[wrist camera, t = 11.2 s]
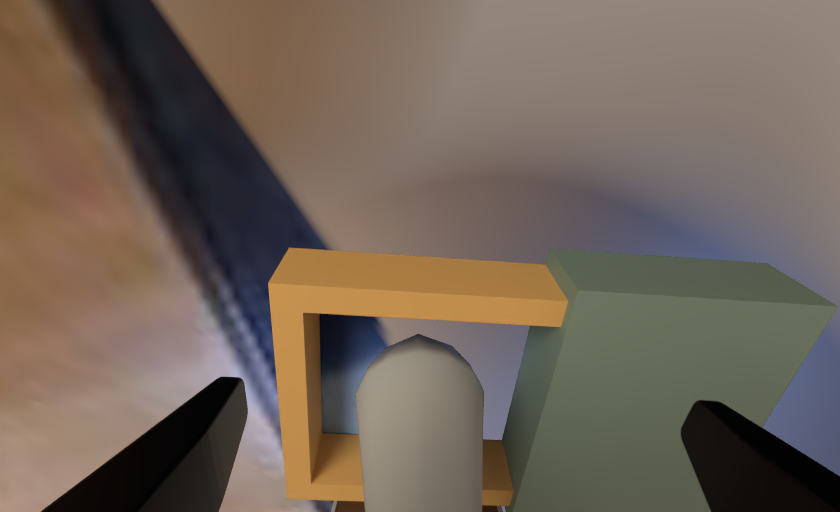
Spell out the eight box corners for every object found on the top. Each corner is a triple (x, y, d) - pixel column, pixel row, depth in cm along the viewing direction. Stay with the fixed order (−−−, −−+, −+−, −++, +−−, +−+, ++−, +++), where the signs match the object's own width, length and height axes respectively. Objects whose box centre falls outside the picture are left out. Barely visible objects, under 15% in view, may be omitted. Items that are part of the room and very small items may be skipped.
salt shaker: (339, 347, 20) (247, 746, 9) (445, 301, 19) (501, 684, 8) (396, 423, 23) (383, 815, 11) (493, 385, 22) (591, 774, 10)
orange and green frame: (660, 470, 25) (696, 530, 22) (301, 456, 24) (285, 519, 21) (767, 263, 19) (838, 306, 16) (288, 230, 18) (261, 270, 14)
